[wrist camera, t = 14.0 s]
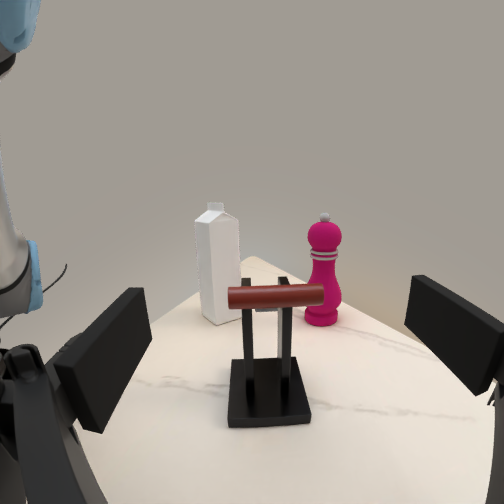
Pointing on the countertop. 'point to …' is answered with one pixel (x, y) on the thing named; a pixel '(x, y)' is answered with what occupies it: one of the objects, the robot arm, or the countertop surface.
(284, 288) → the lever
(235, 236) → the milk
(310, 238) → the pepper mill
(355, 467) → the countertop surface
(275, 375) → the black lever stand
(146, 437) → the countertop surface
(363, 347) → the countertop surface
